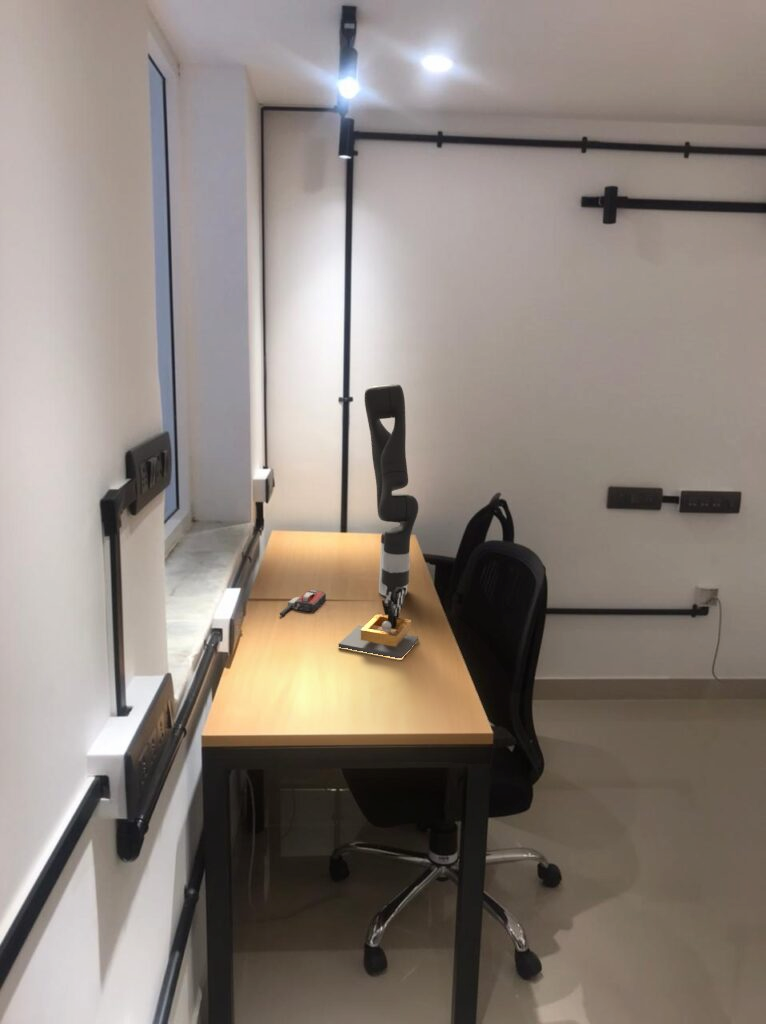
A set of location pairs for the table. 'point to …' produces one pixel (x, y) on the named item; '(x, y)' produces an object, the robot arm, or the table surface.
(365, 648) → the plate
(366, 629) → the link ring
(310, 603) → the walkie-talkie
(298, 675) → the table surface
